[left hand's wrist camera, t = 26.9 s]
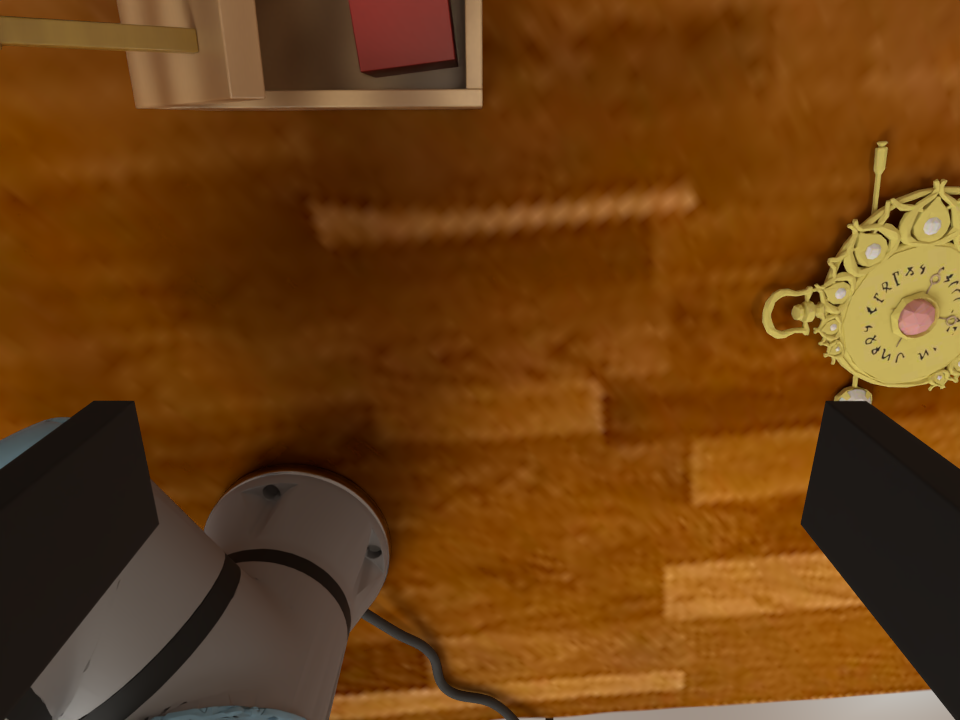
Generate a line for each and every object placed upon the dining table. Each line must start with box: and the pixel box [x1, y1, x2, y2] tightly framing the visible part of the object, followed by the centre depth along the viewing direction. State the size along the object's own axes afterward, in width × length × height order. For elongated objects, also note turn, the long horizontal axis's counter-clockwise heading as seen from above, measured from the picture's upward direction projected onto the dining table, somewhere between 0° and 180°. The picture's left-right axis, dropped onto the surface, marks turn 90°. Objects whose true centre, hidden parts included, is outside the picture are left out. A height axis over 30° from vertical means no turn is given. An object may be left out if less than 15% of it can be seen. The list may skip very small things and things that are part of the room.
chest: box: [159, 0, 483, 111], centre depth 37 cm, size 17×10×10 cm, turn 90°
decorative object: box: [762, 141, 960, 404], centre depth 46 cm, size 21×2×20 cm
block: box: [348, 0, 458, 78], centre depth 38 cm, size 5×5×5 cm
